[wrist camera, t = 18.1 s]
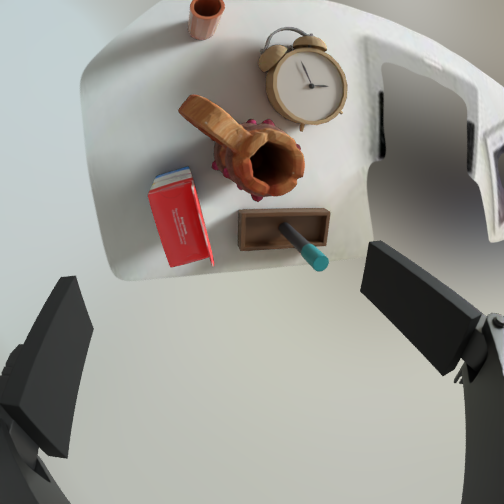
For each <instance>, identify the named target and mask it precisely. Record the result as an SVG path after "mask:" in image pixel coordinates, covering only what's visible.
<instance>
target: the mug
mask: <svg viewBox="0 0 504 504" xmlns="http://www.w3.org/2000/svg"><path fill="white" fill-rule="evenodd" d="M178 112H179V113H180V114H181V115H182V116H183V117H184V118H185V119H186V120H187V121H189V122H190V123H191V124H192V125H193V126H195V127H196V128H198V129H199V130H200V131H201V132H203V133H204V134H205V135H207V136H208V137H210V138H211V140H212V141H215V142H216V143H215V146H214V159H215V161H213V162H212V168H213V169H214V170H220V171H221V172H222V173H223V176H224V177H226V178H229V179H230V180H232V181H233V182H235V183H236V184H237V187H238V188H239V189H240V190H245V191H246V192H248V193H250V194H251V196H252V199H253V200H254V201H257V202H259V201H260V200H262V199H263V197H267V196H281V195H284V194H286V193H288V192H290V191H291V190H292V189H293V188H294V187H295V186H296V185H297V179H298V178H301V177H303V174H304V168H305V162H304V156H303V153H302V152H301V151H300V150H301V147H300V146H299V145H298V144H296V142H295V140H294V139H293V138H291V137H290V136H289V135H288V134H286V133H285V132H284V131H282V130H281V129H279V128H277V127H275V125H274V123H273V122H272V120H270V119H267V120H265V121H263V123H262V124H256V121H255V120H253V119H249V120H248V121H247V122H246V123H239V124H238V123H237V122H236V121H235V120H234V119H233V118H232V117H231V116H230V115H229V114H228V113H227V112H225V111H224V110H223V109H222V108H221V107H219V106H218V105H216V104H215V103H213V102H211V101H210V100H208V99H207V98H204V97H201V96H199V95H194V94H192V95H190V96H189V97H188V98H187V99H186V101H184V103H183V104H182V105H181V107H180V108H179V110H178Z"/></svg>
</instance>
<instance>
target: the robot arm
mask: <svg viewBox="0 0 504 504" xmlns="http://www.w3.org/2000/svg"><path fill="white" fill-rule="evenodd" d="M360 292H361V293H362V294H364V295H365V296H366V297H367V298H368V299H369V300H370V301H371V302H372V303H373V304H374V305H375V306H376V307H377V308H378V309H379V310H380V311H381V312H382V313H383V314H384V315H385V316H386V317H387V318H388V319H389V320H390V321H391V322H392V323H393V324H394V325H395V326H396V327H397V328H398V329H399V330H400V331H401V332H402V333H403V335H404V336H405V337H406V338H407V339H409V341H410V342H411V343H412V344H413V345H414V346H415V347H416V348H417V349H418V350H419V351H420V352H421V353H422V354H423V355H424V356H425V357H426V359H427V360H428V361H429V362H430V363H431V364H432V365H433V366H434V367H435V368H436V369H437V370H438V371H439V373H440V374H441V375H442V376H444V375H446V374H448V373H449V372H451V371H453V370H454V369H455V367H456V366H457V364H458V362H459V360H460V358H462V359H463V360H464V361H465V362H464V364H463V365H462V367H461V369H460V371H459V372H458V374H457V376H456V377H455V379H454V383H456V382H457V381H458V379H459V377H461V376H462V379H461V381H460V382H459V383H460V384H463V387H464V400H465V416H466V417H465V418H466V455H465V473H464V485H463V494H462V501H461V504H504V316H502V315H501V314H497V313H491V314H489V315H488V316H485V315H484V314H483V313H482V312H480V311H479V310H478V309H477V308H475V307H474V306H473V305H471V304H470V303H469V302H467V301H466V300H465V299H463V298H462V297H461V296H460V295H458V294H457V293H456V292H455V291H453V290H452V289H450V288H449V287H448V286H446V285H445V284H443V283H442V282H441V281H439V280H438V279H437V278H435V277H434V276H432V275H431V274H430V273H428V272H427V271H425V270H424V269H422V268H421V267H420V266H418V265H417V264H415V263H414V262H412V261H411V260H409V259H408V258H407V257H405V256H403V255H402V254H401V253H399V252H398V251H396V250H395V249H393V248H392V247H390V246H389V245H387V244H385V243H384V242H382V241H373V242H369V245H368V251H367V257H366V263H365V269H364V274H363V280H362V284H361V289H360ZM93 329H94V328H93V326H92V323H91V320H90V318H89V315H88V312H87V309H86V306H85V303H84V300H83V298H82V295H81V291H80V288H79V285H78V282H77V278H76V276H68V277H61V278H60V279H59V281H58V282H57V284H56V286H55V287H54V289H53V290H52V292H51V294H50V296H49V297H48V299H47V301H46V302H45V304H44V306H43V308H42V310H41V311H40V313H39V315H38V317H37V319H36V321H35V322H34V324H33V326H32V328H31V330H30V332H29V334H28V336H27V339H26V340H25V342H24V344H19V345H18V346H17V347H16V348H15V349H14V350H13V351H12V353H11V354H10V356H9V358H8V360H7V362H6V367H4V369H3V371H2V376H0V504H70V502H69V501H68V499H67V498H66V497H65V495H64V494H63V492H62V491H61V490H60V488H59V486H58V485H57V484H56V482H55V480H54V479H53V477H52V476H51V474H50V472H49V471H48V469H47V468H46V466H45V464H44V463H43V461H42V460H41V458H40V457H39V456H38V455H37V454H38V449H39V447H40V448H41V449H42V450H43V451H44V452H45V453H46V454H47V455H48V456H53V457H60V458H68V450H69V442H70V435H71V428H72V422H73V416H74V409H75V405H76V399H77V394H78V389H79V385H80V380H81V376H82V371H83V367H84V363H85V359H86V355H87V351H88V348H89V343H90V340H91V337H92V333H93Z"/></svg>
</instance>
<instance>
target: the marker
mask: <svg viewBox="0 0 504 504" xmlns="http://www.w3.org/2000/svg"><path fill="white" fill-rule="evenodd" d="M279 231H280V232H281V234H282V235H283V236H284V237H285V238H286V239H287V240H288V241H289V242H290V243H291V244H292V245H293V246H294V247H295V248H296V249H297V250H298V251H299V252H300V253H301V255H302V257H303V258H304V259H305V260H306V261H307V262H308V263H309V264H310V265H311V266H312V267H313V269H315V270H316V271H323V270H324V269H326V268H327V266H328V263H329V260H328V258H327V257H326V256H325V255H324V254H323V253H322V252H321V251H320V250H319V249H317V248H316V247H315V246H314V245H313V244H311V243H310V242H309V241H307V240H306V239H305V238H304V237H303V236H302V235H301V234H300V233H299V232H297V231H296V230H295V229H294V228H293V227H292V226H291V225H290V224H288V223H287V222H283V223H281V224H280V225H279Z"/></svg>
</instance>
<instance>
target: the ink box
mask: <svg viewBox="0 0 504 504" xmlns="http://www.w3.org/2000/svg"><path fill="white" fill-rule="evenodd" d="M148 198H149V202H150V206H151V210H152V213H153V216H154V220H155V223H156V226H157V229H158V233H159V236H160V239H161V242H162V245H163V248H164V251H165V254H166V257H167V260H168V262H169V265H170V267H175V266H180V265H184V264H188V263H191V262H195V261H198V260H202V259H205V258H208V257H210V261H211V265H212V267H213V266H214V260H213V255H212V251H211V247H210V243H209V239H208V235H207V231H206V226H205V222H204V218H203V214H202V210H201V206H200V202H199V198H198V195H197V191H196V187H195V184H194V180H193V177H192V174H191V171H190V168H189V166H188V167H184V168H181V169H178V170H174V171H171V172H168V173H164V174H161V175H158V176H156V178H155V180H154V182H153V184H152V186H151V189H150V191H149V193H148Z"/></svg>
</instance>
